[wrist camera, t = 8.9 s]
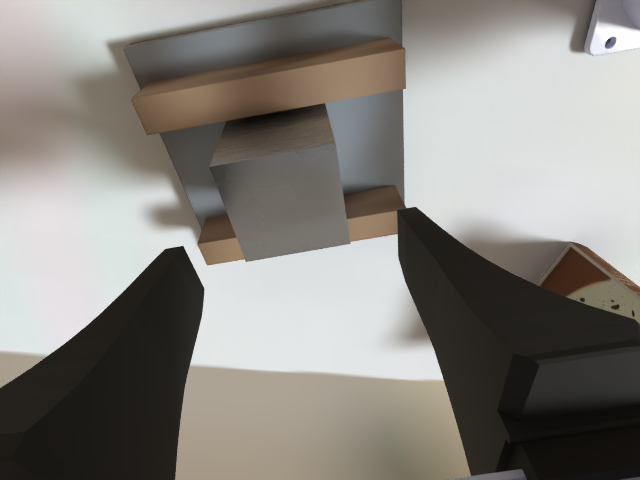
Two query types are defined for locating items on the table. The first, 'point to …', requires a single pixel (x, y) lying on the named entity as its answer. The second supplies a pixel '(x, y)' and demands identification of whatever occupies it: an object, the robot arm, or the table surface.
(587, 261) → the food container
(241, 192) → the steel block
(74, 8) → the table surface
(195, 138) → the slot seat
